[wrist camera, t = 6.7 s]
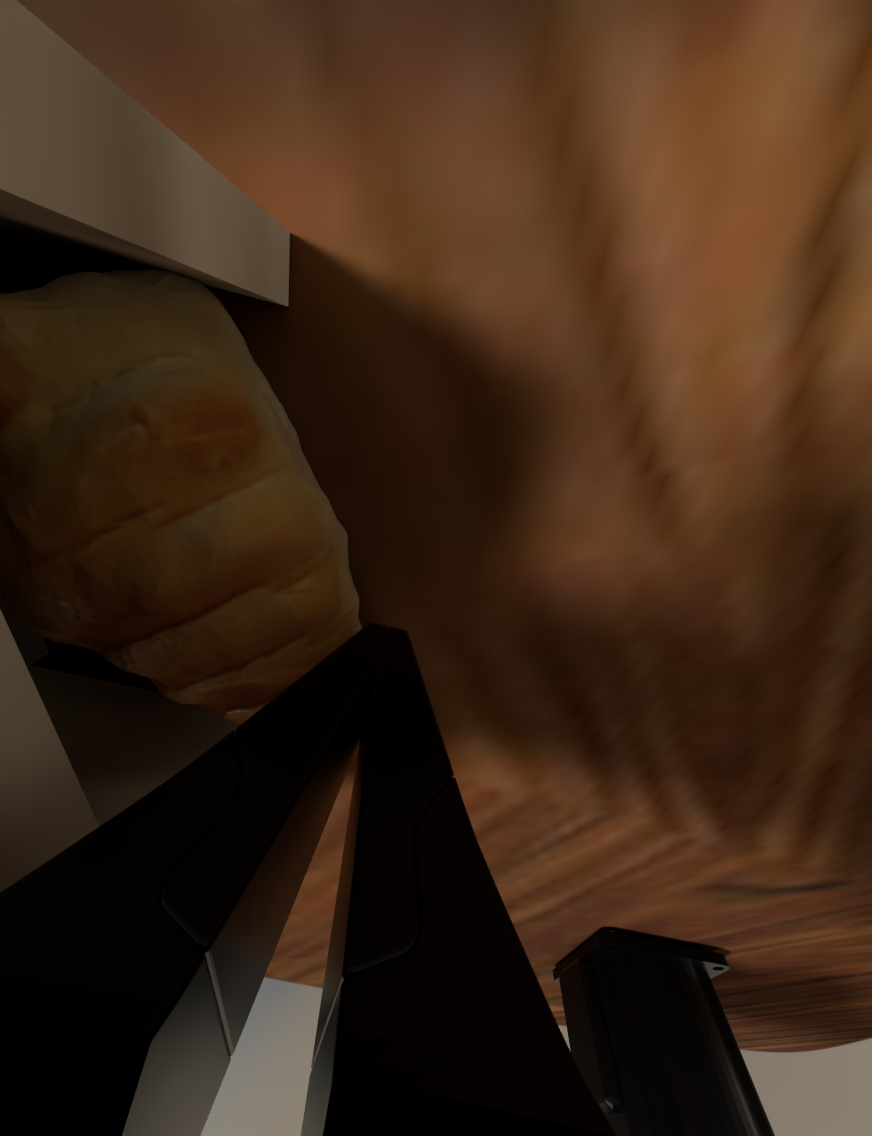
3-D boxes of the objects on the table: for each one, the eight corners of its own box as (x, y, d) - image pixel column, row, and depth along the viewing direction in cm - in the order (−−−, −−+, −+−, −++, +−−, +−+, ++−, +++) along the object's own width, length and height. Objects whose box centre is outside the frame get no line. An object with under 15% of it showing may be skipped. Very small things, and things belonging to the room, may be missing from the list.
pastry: (437, 646, 10) (422, 783, 7) (250, 699, 12) (162, 829, 8) (221, 249, 6) (-80, 92, 3) (-11, 415, 8) (-373, 444, 4)
